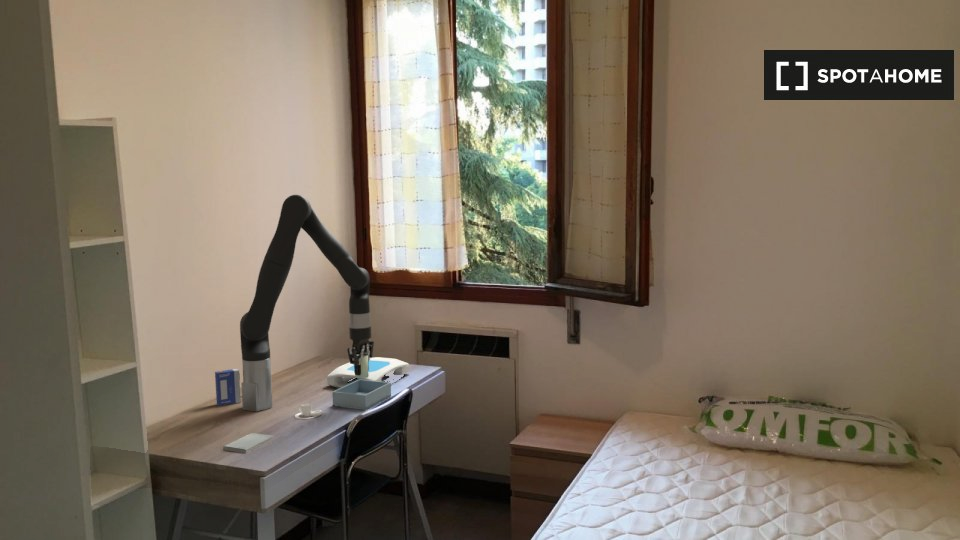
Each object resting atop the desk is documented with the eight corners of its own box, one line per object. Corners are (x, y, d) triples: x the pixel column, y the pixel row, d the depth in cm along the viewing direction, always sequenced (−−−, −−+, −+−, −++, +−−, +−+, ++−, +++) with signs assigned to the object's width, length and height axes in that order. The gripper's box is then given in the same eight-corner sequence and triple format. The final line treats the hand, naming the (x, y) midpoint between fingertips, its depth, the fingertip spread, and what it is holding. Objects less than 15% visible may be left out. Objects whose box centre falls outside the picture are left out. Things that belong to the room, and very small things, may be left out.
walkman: (218, 406, 255) (216, 372, 253) (216, 404, 257) (214, 370, 256) (241, 402, 259) (239, 369, 258) (239, 400, 261) (237, 367, 260)
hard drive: (245, 449, 210) (273, 435, 221) (222, 446, 213) (250, 432, 224) (246, 455, 210) (273, 440, 222) (223, 451, 213) (251, 437, 225)
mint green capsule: (364, 379, 255) (363, 357, 254) (352, 377, 257) (352, 356, 256) (371, 375, 259) (370, 354, 258) (359, 374, 261) (359, 353, 260)
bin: (365, 410, 249) (365, 395, 248) (332, 405, 254) (332, 391, 253) (391, 396, 264) (390, 382, 264) (359, 392, 269) (359, 379, 269)
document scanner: (410, 374, 295) (409, 359, 294) (375, 393, 269) (374, 376, 268) (364, 370, 302) (363, 355, 302) (326, 388, 276) (325, 372, 276)
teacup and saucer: (326, 415, 245) (325, 403, 244) (309, 422, 238) (308, 409, 237) (306, 411, 249) (306, 399, 249) (289, 418, 242) (289, 406, 242)
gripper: (358, 330, 248) (360, 379, 250) (379, 322, 261) (381, 369, 263) (339, 328, 251) (341, 377, 253) (361, 321, 264) (363, 367, 266)
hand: (361, 372), depth 258 cm, fingers closed on mint green capsule, 4 cm apart
